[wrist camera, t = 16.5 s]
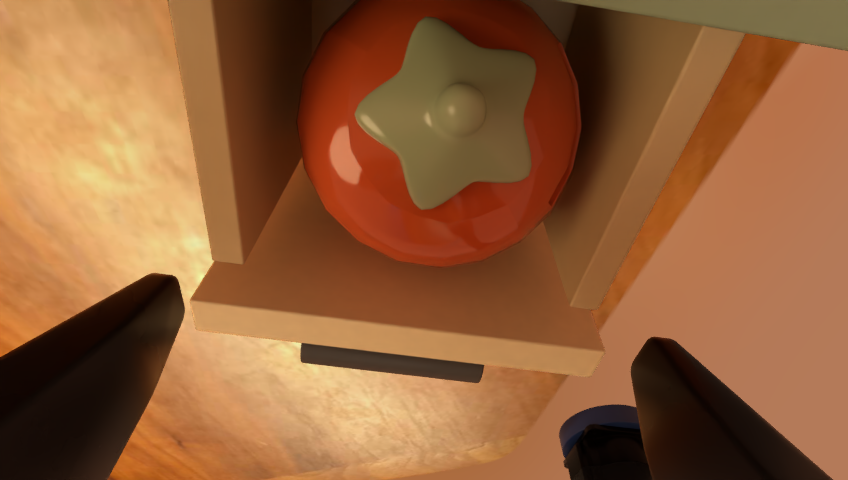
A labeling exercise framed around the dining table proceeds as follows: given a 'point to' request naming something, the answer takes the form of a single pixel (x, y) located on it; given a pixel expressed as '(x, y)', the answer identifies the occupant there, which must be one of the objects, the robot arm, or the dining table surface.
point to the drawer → (410, 283)
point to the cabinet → (750, 16)
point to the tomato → (439, 126)
